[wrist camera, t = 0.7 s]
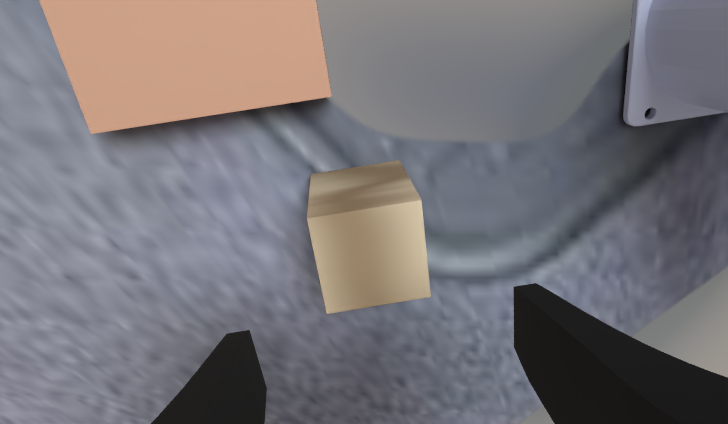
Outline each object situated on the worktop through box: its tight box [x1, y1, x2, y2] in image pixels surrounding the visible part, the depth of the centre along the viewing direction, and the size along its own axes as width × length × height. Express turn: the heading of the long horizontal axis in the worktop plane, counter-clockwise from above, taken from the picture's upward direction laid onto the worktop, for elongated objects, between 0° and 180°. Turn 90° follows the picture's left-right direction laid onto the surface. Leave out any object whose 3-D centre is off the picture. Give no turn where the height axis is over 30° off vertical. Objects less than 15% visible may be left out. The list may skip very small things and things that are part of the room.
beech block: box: [307, 160, 431, 314], centre depth 19 cm, size 4×4×5 cm
